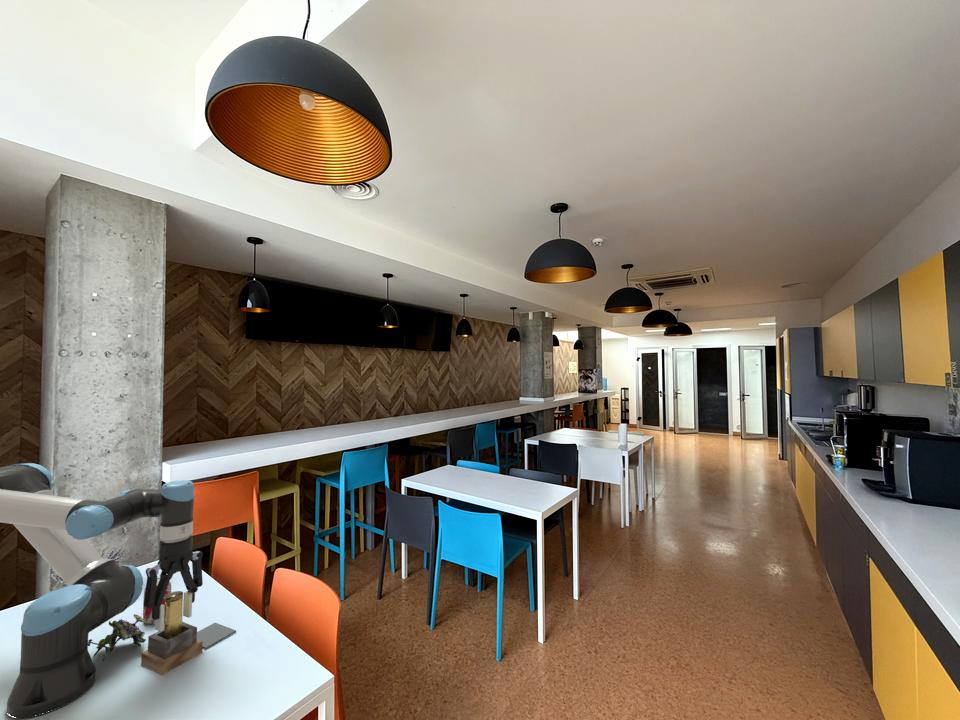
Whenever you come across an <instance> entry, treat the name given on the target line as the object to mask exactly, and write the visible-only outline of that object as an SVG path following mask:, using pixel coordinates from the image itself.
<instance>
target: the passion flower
mask: <svg viewBox="0 0 960 720" xmlns="http://www.w3.org/2000/svg"><path fill="white" fill-rule="evenodd" d="M133 617H134V619H135V622H133V623H132V622H129V621H128V620H126V619H122V618H121V619H118V620H113V621H112V622H111V620H108V625H109V626H110V627H112V628H113V630H112V632H111V634H107V635H106V636H105V637H104V638H101V639H100V640H99V641H98V643H97V642H93V639H91V638H90V639H88V647H90V646H91V644H93V645H97V646H96V649H97V650H96V652H95V653H94V654H93V658H92V659H94V658H95V657H96V656H97V655H98V653H99V652H100V651H101V650H102V649H103V648H105V650H104V656H103V659H102V661H103V662H104V661H105V660H106V658H107V656H108V655H110V654H111V652H113V650H114V647H115V646H116V644H117V643H118V642H119V641H121V640H122V641H123V642H124V641H125V640H129V639H132V642H133V643H134V644H133V645H135V646H136V647H142V644H143V643H146V641H147V639H146V638H144V637H145V634H146V632H145V631H142V630H140V627H139V626H138V625H137V624H138V623H145V620H144V619H143V617H142V616H140V615H139V614H133ZM107 645H108V646H107ZM109 646H110V647H109Z"/></svg>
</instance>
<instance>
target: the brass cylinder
mask: <svg viewBox="0 0 960 720" xmlns="http://www.w3.org/2000/svg"><path fill="white" fill-rule="evenodd" d="M183 599H184V591H183V590H182V591H181V590H177V591H171V593H169V594H167V595H166V596H165V617H164V639H167V640H169V639H171V638H173V637H175V636H177V635H179V634H181V633H182V622H183Z"/></svg>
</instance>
